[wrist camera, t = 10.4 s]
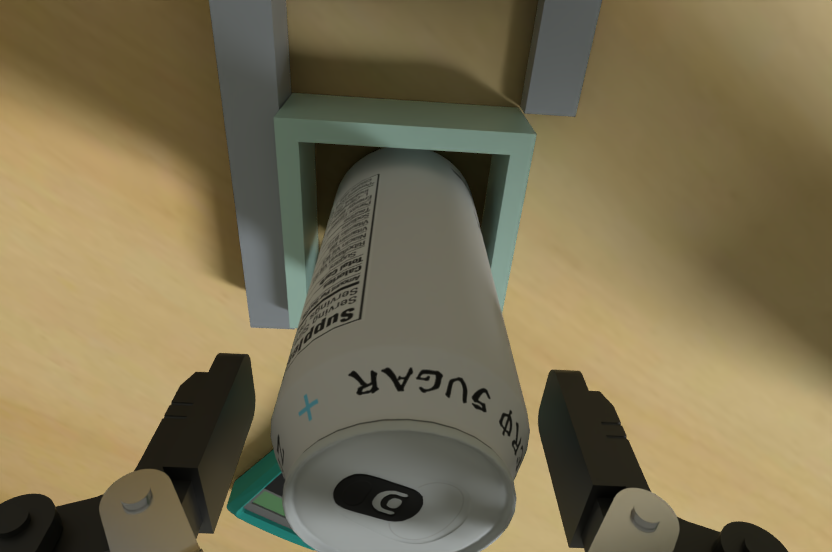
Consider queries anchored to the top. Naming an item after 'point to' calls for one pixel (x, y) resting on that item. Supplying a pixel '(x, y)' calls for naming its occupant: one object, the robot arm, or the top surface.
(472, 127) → the rail
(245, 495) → the digital multimeter
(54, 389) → the top surface
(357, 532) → the energy drink can
